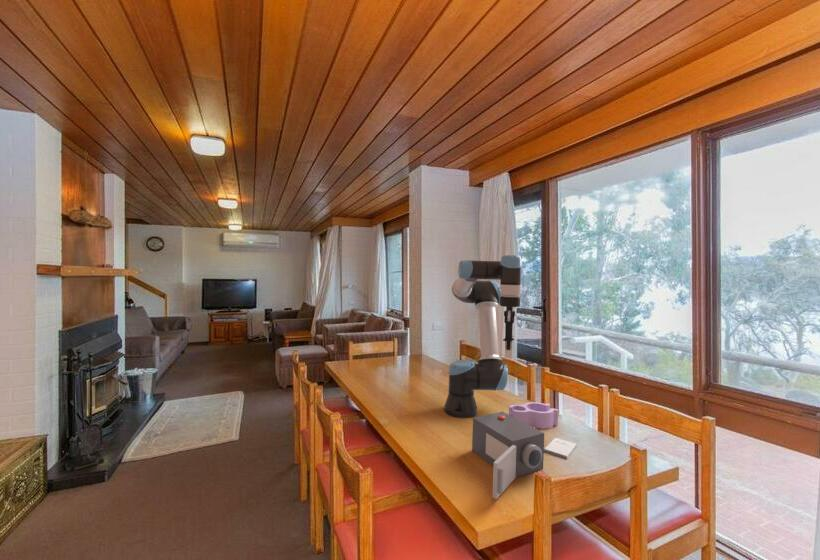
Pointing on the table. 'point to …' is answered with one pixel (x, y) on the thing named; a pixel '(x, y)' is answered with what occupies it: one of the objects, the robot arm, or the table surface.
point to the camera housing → (508, 441)
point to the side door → (504, 471)
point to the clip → (535, 414)
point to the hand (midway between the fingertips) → (508, 357)
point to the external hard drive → (560, 448)
